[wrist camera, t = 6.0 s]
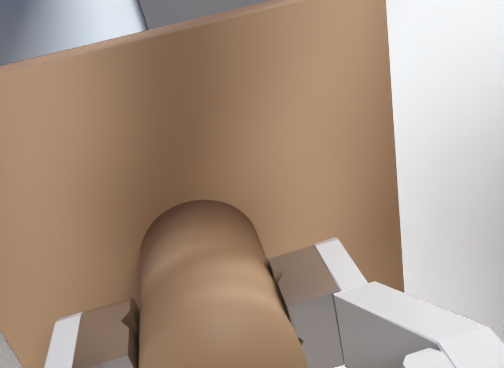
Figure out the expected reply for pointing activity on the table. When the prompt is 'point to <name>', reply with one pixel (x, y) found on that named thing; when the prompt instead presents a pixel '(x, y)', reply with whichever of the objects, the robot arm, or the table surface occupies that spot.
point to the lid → (197, 177)
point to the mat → (186, 10)
